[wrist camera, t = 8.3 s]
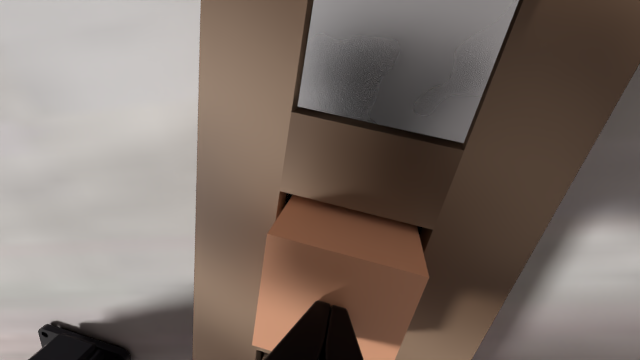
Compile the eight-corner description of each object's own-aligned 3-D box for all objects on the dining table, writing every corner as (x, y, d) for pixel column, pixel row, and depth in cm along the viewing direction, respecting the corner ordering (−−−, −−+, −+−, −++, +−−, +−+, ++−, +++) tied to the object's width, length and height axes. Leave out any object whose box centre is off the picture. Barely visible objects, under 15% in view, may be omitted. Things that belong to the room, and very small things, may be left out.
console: (392, 400, 17) (395, 492, 13) (229, 349, 18) (190, 422, 14) (603, -72, 8) (775, -176, 5) (272, -120, 9) (206, -237, 6)
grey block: (434, 116, 10) (463, 142, 7) (323, 93, 11) (297, 106, 7) (479, -17, 9) (546, -70, 5) (348, -39, 9) (329, -103, 6)
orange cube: (382, 292, 12) (383, 386, 8) (287, 266, 12) (251, 345, 9) (412, 206, 10) (429, 277, 7) (303, 179, 11) (267, 233, 7)
